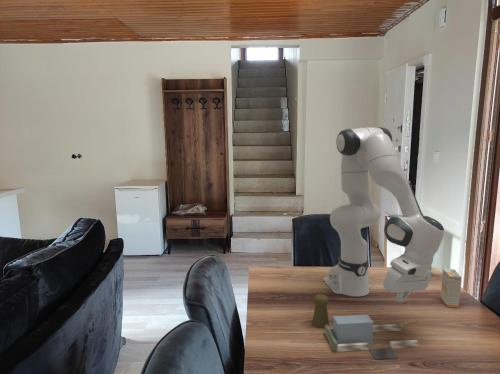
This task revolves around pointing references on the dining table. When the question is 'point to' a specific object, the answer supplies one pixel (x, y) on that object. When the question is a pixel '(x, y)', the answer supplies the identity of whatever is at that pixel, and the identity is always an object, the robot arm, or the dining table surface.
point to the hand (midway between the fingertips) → (399, 300)
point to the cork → (320, 311)
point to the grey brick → (353, 329)
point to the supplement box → (451, 287)
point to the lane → (377, 353)
